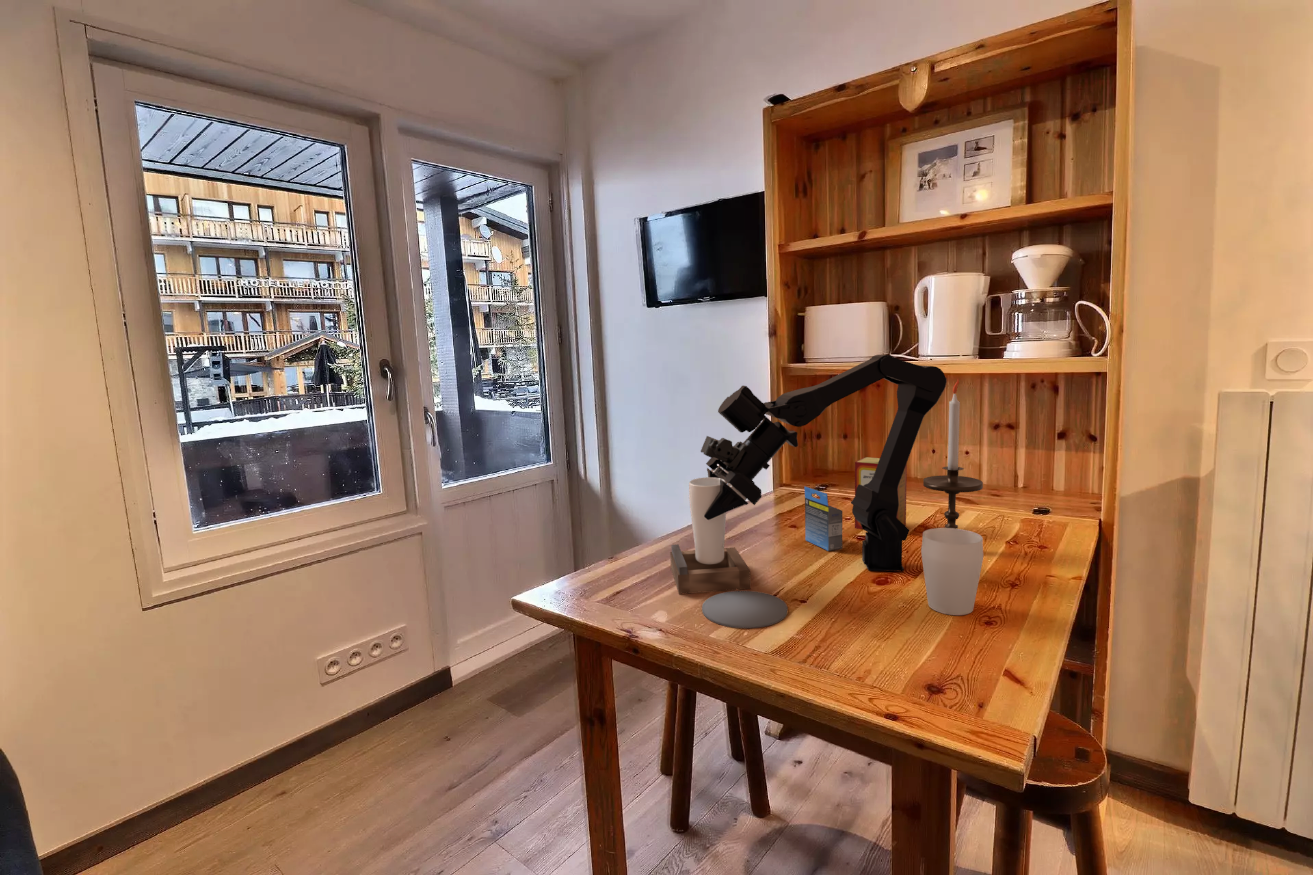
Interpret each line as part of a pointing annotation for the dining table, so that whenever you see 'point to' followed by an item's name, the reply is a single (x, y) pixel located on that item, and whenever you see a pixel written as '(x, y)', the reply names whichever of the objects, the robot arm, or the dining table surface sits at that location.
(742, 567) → the wooden holder tray
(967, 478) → the candlestick
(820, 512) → the blue hang tab box
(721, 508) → the robot arm
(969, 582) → the cup
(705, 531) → the drinking glass
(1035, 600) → the dining table surface
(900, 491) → the baking soda box
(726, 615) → the slate mat
